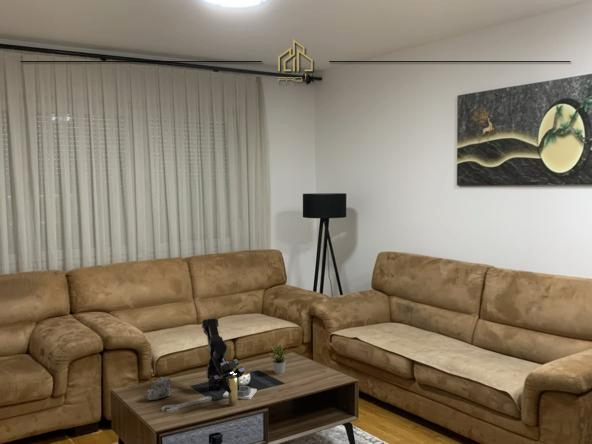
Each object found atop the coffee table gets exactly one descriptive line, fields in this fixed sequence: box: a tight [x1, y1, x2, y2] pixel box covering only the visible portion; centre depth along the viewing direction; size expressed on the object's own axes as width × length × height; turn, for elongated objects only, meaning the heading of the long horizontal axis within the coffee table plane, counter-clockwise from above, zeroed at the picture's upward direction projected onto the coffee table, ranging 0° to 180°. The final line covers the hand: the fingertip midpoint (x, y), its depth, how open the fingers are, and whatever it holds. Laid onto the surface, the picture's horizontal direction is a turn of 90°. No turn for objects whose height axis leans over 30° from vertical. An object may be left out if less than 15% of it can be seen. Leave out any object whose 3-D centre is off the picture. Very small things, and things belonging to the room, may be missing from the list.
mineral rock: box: [145, 376, 173, 401], centre depth 283 cm, size 13×11×10 cm
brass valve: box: [227, 374, 239, 407], centre depth 272 cm, size 4×4×14 cm
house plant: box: [268, 342, 289, 375], centre depth 318 cm, size 14×14×16 cm
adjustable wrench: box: [161, 395, 212, 414], centre depth 272 cm, size 25×6×2 cm, turn 122°
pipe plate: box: [222, 385, 258, 400], centre depth 285 cm, size 14×11×4 cm
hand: (234, 391), depth 271 cm, fingers closed on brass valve, 4 cm apart
